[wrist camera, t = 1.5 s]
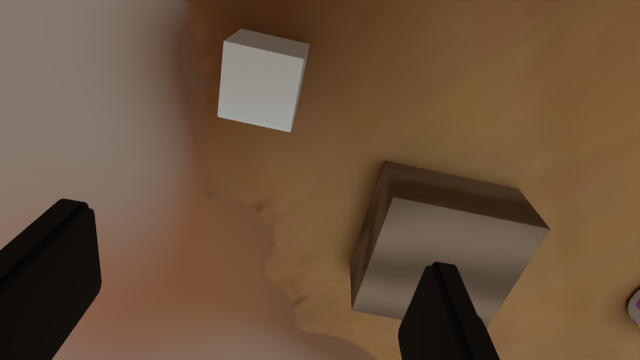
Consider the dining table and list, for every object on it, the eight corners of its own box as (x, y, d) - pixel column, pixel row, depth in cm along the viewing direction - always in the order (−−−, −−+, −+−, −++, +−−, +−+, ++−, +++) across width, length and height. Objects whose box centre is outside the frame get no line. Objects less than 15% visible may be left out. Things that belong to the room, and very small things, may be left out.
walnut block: (384, 159, 33) (393, 197, 28) (517, 187, 34) (550, 229, 28) (350, 263, 39) (351, 310, 33) (463, 285, 39) (482, 334, 34)
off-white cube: (241, 28, 28) (223, 40, 23) (309, 43, 28) (304, 59, 24) (235, 94, 30) (217, 116, 26) (297, 108, 31) (290, 132, 26)
